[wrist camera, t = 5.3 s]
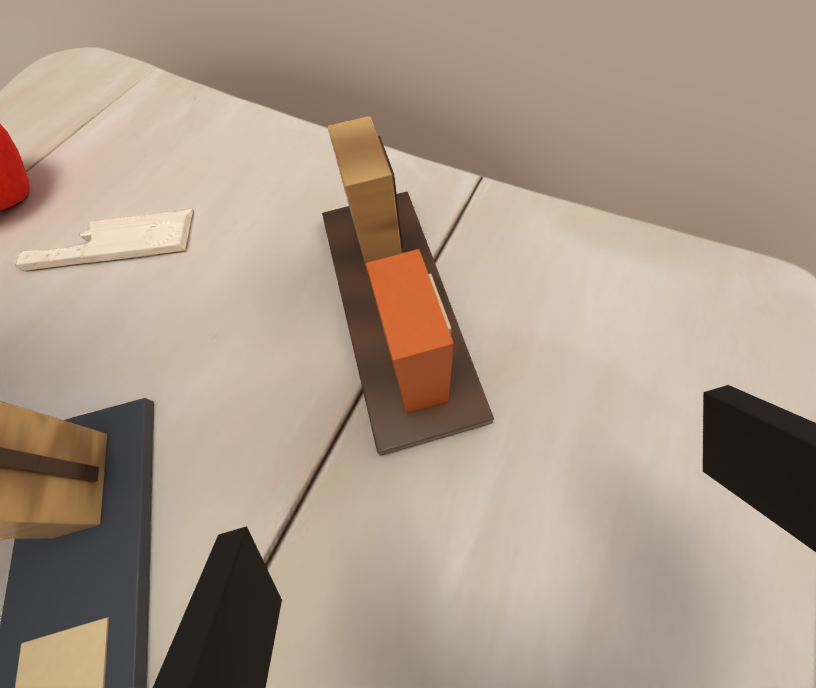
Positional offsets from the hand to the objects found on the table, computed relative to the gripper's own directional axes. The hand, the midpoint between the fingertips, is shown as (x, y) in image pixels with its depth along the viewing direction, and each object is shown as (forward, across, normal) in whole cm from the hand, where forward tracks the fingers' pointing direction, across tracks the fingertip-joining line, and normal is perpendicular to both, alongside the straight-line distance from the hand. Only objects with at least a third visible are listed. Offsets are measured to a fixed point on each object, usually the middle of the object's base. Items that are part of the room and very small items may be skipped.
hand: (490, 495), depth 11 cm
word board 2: (+22, 0, +1) cm, 22 cm away
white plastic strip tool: (+32, -24, +12) cm, 42 cm away
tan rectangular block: (+25, 0, +6) cm, 26 cm away
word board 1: (+12, -24, -9) cm, 28 cm away
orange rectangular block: (+17, 0, -3) cm, 17 cm away
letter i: (+16, -24, -4) cm, 29 cm away
